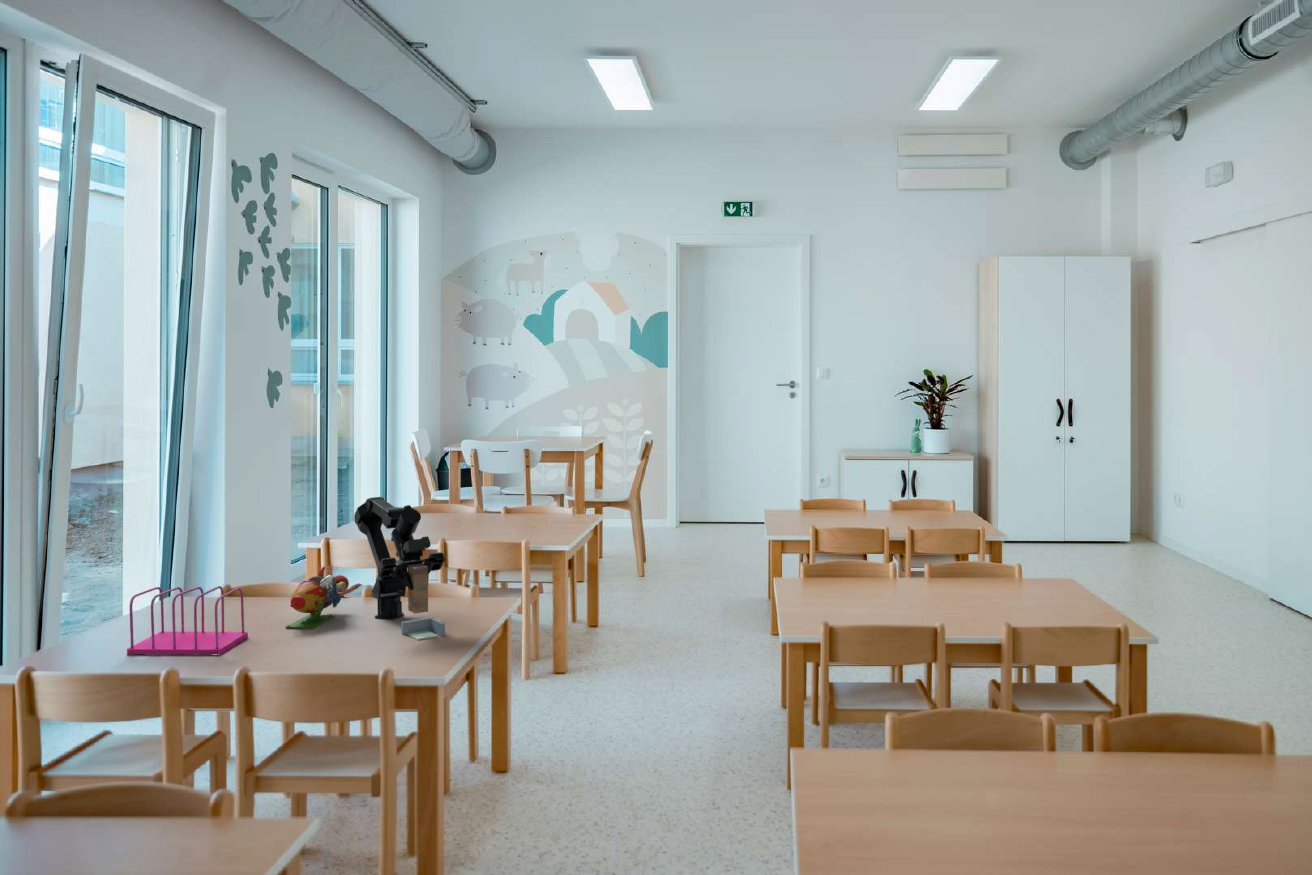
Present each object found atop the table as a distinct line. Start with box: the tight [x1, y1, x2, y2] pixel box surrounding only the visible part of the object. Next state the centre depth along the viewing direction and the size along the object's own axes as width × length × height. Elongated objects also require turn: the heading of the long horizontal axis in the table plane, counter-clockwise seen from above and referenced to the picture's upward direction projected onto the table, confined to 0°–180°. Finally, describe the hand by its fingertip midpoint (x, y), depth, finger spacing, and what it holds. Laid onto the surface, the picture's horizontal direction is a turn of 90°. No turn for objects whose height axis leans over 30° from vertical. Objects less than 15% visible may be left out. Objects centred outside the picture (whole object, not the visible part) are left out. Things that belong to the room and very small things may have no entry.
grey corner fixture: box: [400, 616, 446, 641], centre depth 276 cm, size 9×10×4 cm
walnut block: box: [407, 564, 429, 615], centre depth 277 cm, size 5×4×13 cm
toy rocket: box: [285, 566, 345, 631], centre depth 291 cm, size 14×25×15 cm, turn 173°
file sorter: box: [126, 585, 249, 656], centre depth 265 cm, size 17×25×16 cm
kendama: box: [334, 574, 350, 597], centre depth 324 cm, size 8×6×18 cm
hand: (419, 588), depth 275 cm, fingers closed on walnut block, 4 cm apart
